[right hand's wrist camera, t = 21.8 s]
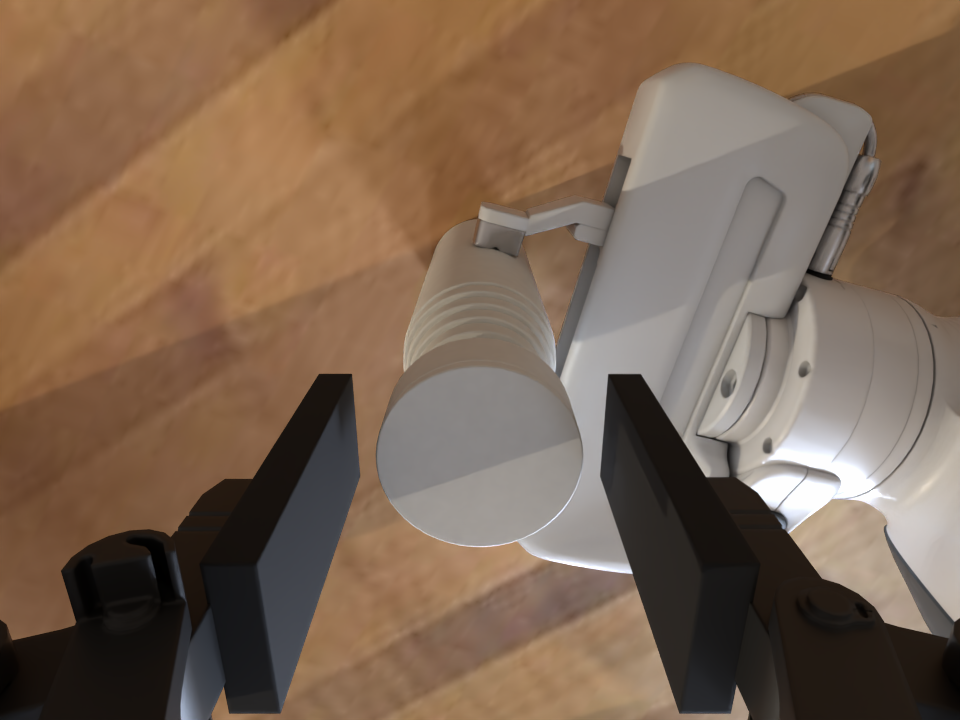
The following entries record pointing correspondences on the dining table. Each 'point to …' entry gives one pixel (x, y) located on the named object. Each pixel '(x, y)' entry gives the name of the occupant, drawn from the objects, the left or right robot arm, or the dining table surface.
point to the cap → (479, 444)
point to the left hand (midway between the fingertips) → (457, 298)
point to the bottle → (478, 299)
